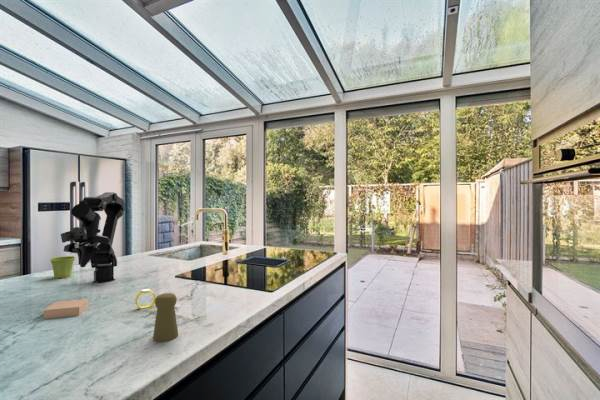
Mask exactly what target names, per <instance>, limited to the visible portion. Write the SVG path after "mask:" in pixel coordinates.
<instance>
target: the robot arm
mask: <svg viewBox="0 0 600 400" xmlns="http://www.w3.org/2000/svg"><path fill="white" fill-rule="evenodd" d="M103 211H104V213H105V215H106V218H105V222H104V226H103V229H102V230H103V231H102V234H101V235H100V234H99V233H101V229H99V226H100V220H101V216H100V214H99V213H98V212H103ZM125 211H126V202H125V201H124V199H123V198H121V197H120V196H118V194H117V192H108V191H107V192H104V193H102V194H99V195H97V196H85V197H83V198H82V200H80V201H79V203H78V204H75V205H74V206H73V207H72V208H71V212H70V213H71V215H72V217H74V218H75V219H77V220H78V221H79V222H80V223H81V224H80V226H75V227H72V228H71V230H69V231H65V232H62V233H60V239H61V243H67V242H71V243H68V244H66V245H64V247H63V252H67V253H71V254H77V256H78V261H79V266H80V268H85V267H86V266H87V265H88V263H89V262H90V267H91V269H94V270H93V281H94V282H96V283H97V284H100V283H107V282H112V281H115V280H116V278H114V276H115V275H114V274H115V273H114V272H115V271H114V267H118V259H117V256H116V254H115V251H114V248H113V242H114V237H115V235H116V229H117V225H118V220H119V219H120V218H121V217H122V216H123V215H124V213H125ZM72 241H73V242H72Z"/></svg>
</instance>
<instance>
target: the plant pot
mask: <svg viewBox="0 0 600 400" xmlns="http://www.w3.org/2000/svg"><path fill="white" fill-rule="evenodd" d="M76 258H77V256H74V255H68V256H67V255H66V256H64V255H63V256H58V257H52V258H50V259H49V261H50V264H51V265H52V271H53V276H54V277H53V278H55V279H61V278H62V279H64V278H65V277H66V278H70V277H71V276H72V273H73V268H74V267H73V265H74V262H75V260H76ZM66 278H65V279H66Z"/></svg>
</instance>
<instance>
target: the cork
mask: <svg viewBox="0 0 600 400" xmlns="http://www.w3.org/2000/svg"><path fill="white" fill-rule="evenodd" d="M177 298H178V297H177V295H175V293H171V292H165V293H161V294H158V295H157V296H156V299H155V303H154V305H155V307H156V315H155V321H154V329H153V335H152V339H153V341H154V342H160V343H162V342H163V343H164V342H169V341H172V340H174V339H177V338H178V336H179V331H178V323H177V315H176V309H175V306H176V304H177V301H178V299H177Z"/></svg>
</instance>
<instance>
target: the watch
mask: <svg viewBox="0 0 600 400" xmlns="http://www.w3.org/2000/svg"><path fill="white" fill-rule="evenodd" d="M149 293H150V294H152V295H153V300H152V302H151V303H150V304H149V305H144V306H141V305H139V304H138V299H139V297H140V296H141V295H143V294H149ZM156 297H157V296H156V294H155V293H154V291H152V290H151V289H150V288H144V289H141V290H140V292H139V293H137V294H136V297H135V298H134V303H135V305H136V307H137V309H141V310H143V309H148V308H149V309H150V308H152V306H153V305H155V299H156Z"/></svg>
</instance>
